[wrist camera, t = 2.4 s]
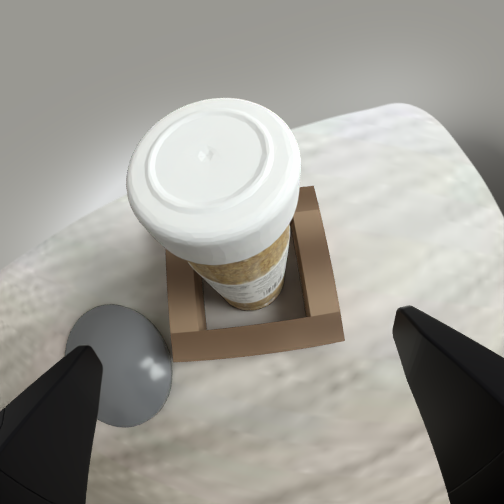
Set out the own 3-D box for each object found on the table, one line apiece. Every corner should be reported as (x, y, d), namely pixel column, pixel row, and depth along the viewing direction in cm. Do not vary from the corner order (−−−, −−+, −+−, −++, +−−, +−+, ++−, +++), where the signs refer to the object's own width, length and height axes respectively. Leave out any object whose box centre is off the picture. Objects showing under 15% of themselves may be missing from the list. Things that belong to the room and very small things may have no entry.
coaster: (130, 448, 16) (126, 450, 15) (54, 366, 18) (49, 366, 18) (198, 361, 18) (195, 361, 17) (108, 281, 20) (104, 279, 19)
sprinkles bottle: (251, 232, 20) (219, 72, 8) (299, 278, 19) (342, 152, 6) (202, 277, 20) (94, 164, 7) (248, 327, 18) (191, 288, 6)
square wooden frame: (336, 341, 18) (344, 340, 16) (184, 360, 18) (173, 362, 16) (309, 201, 21) (313, 185, 19) (174, 221, 21) (165, 208, 19)
